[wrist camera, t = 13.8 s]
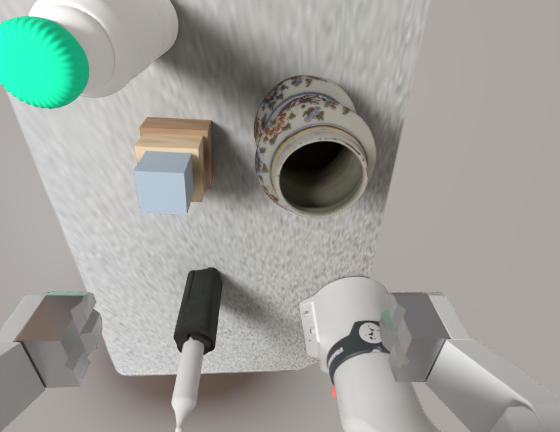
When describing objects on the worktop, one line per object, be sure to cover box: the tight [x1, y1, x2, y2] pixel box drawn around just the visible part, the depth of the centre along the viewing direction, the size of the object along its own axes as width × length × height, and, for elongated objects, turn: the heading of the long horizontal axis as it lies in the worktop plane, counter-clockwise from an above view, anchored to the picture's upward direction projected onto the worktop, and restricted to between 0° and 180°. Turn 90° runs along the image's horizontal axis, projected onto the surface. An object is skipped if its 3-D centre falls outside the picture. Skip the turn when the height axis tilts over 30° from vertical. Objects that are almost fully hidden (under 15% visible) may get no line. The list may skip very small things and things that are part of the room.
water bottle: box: [0, 0, 179, 109], centre depth 30 cm, size 7×7×25 cm
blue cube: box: [133, 151, 194, 214], centre depth 40 cm, size 5×5×5 cm
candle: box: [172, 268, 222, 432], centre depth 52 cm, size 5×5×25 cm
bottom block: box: [140, 117, 213, 188], centre depth 47 cm, size 8×8×4 cm
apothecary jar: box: [254, 76, 376, 219], centre depth 40 cm, size 12×12×18 cm
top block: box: [134, 133, 206, 202], centre depth 44 cm, size 7×7×4 cm
